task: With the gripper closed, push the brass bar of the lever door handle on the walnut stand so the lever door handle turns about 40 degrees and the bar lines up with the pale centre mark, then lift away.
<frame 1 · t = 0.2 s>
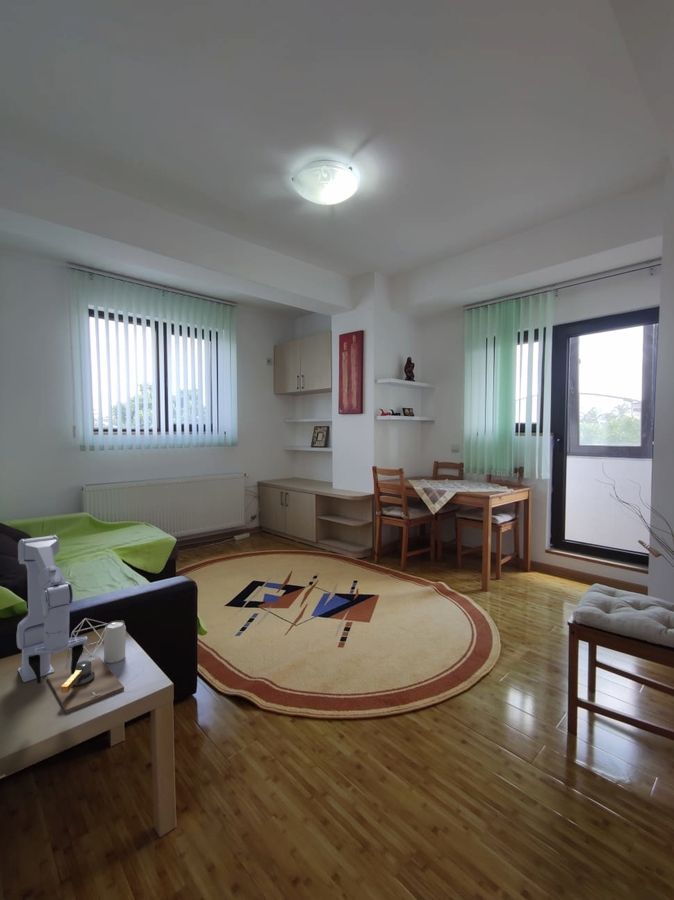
hand: (56, 676, 113), 10 cm above the table, tool pointing down, fingers open, 7 cm apart
geometric polyhedron: (88, 649, 146), on the table
stand: (84, 684, 126), on the table
lever door handle: (76, 678, 123), point 3 cm above the table, hinge at -40.0°
can: (114, 659, 140), on the table
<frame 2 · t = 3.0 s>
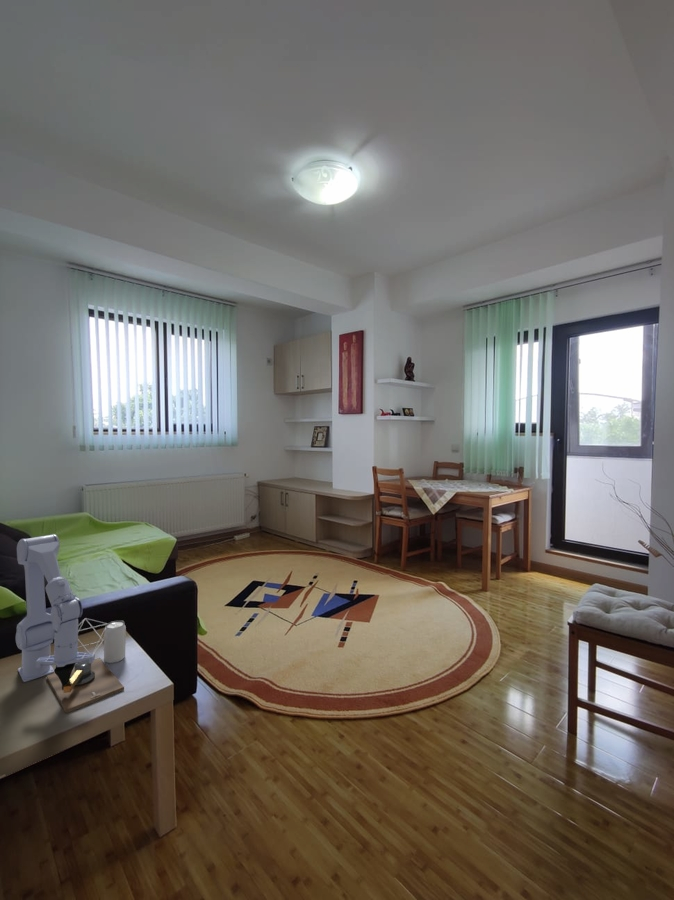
hand: (65, 688, 119), 3 cm above the table, tool pointing down, fingers closed, pressing on lever door handle
lever door handle: (77, 678, 123), point 3 cm above the table, hinge at -36.1°, touching gripper
everything else where it was.
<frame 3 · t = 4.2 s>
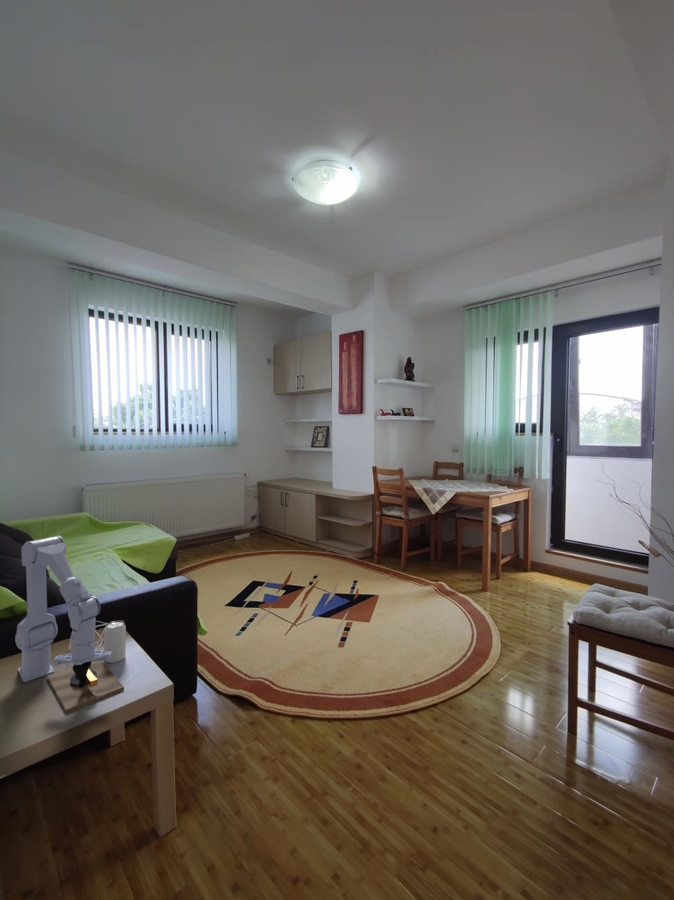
hand: (82, 685, 120), 3 cm above the table, tool pointing down, fingers closed, pressing on lever door handle
lever door handle: (86, 676, 124), point 3 cm above the table, hinge at -0.2°, touching gripper
everything else where it was.
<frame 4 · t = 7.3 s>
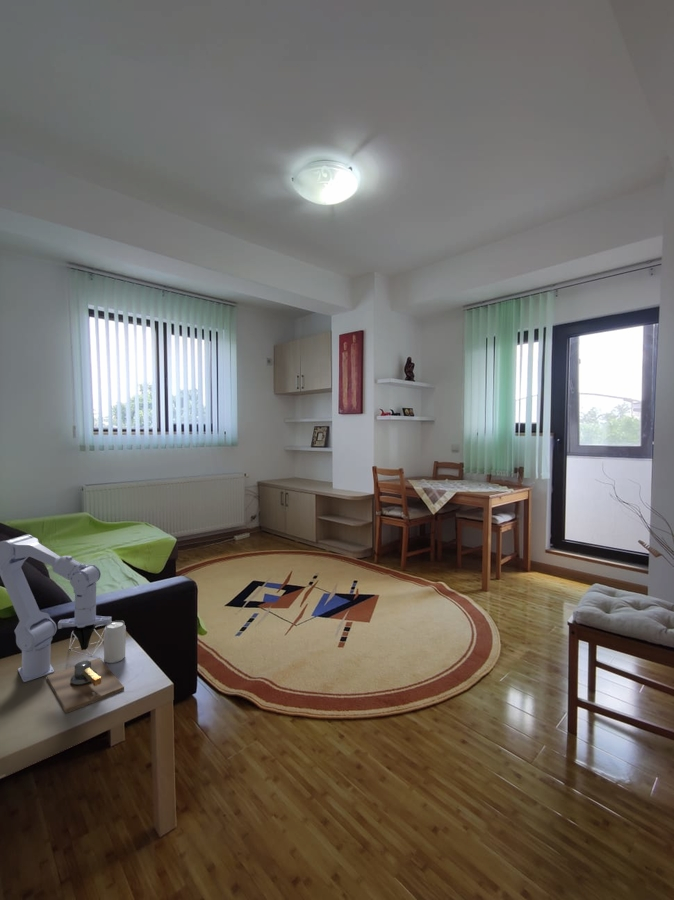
hand: (84, 648, 129), 9 cm above the table, tool pointing down, fingers closed
lever door handle: (88, 676, 125), point 3 cm above the table, hinge at 5.7°
everything else where it was.
at the end: lever door handle at +6° (first picture: -40°); the gripper is holding nothing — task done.
